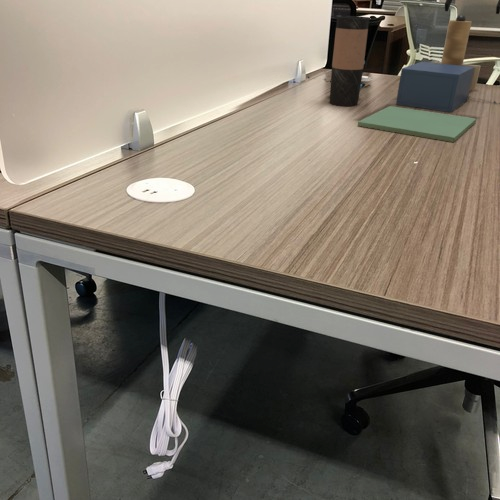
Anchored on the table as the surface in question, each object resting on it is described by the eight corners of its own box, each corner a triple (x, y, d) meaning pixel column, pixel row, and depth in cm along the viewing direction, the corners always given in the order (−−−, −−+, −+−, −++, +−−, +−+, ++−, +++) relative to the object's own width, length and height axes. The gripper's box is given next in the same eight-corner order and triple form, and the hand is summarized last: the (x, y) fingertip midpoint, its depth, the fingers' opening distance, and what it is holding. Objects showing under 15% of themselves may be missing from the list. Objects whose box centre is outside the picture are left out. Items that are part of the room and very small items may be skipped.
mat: (475, 123, 113) (476, 118, 113) (453, 142, 98) (454, 137, 98) (389, 110, 123) (389, 106, 122) (357, 126, 108) (357, 121, 107)
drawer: (434, 83, 153) (439, 59, 150) (478, 89, 147) (483, 64, 144) (414, 93, 138) (419, 66, 135) (462, 99, 132) (468, 72, 129)
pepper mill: (459, 87, 142) (475, 15, 133) (454, 90, 138) (470, 15, 129) (439, 85, 144) (453, 13, 136) (434, 87, 140) (448, 14, 132)
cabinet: (415, 94, 141) (421, 61, 137) (466, 101, 135) (474, 66, 131) (395, 104, 129) (401, 68, 125) (451, 112, 122) (459, 74, 118)
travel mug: (364, 105, 127) (376, 18, 117) (338, 107, 124) (347, 17, 115) (348, 99, 133) (358, 16, 123) (323, 101, 130) (331, 15, 121)
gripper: (541, -40, 141) (519, 21, 137) (450, -40, 153) (426, 16, 149) (545, -63, 135) (522, 0, 130) (449, -62, 146) (425, -4, 142)
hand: (471, 9), depth 140 cm, fingers open, 13 cm apart
